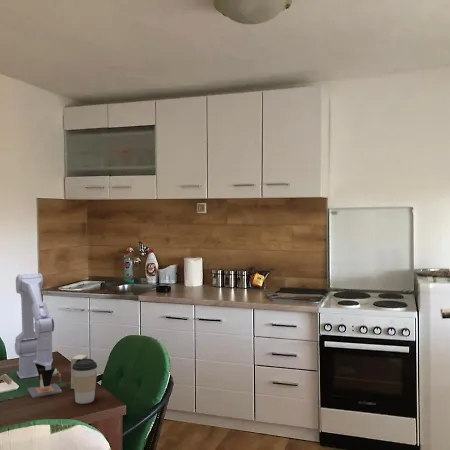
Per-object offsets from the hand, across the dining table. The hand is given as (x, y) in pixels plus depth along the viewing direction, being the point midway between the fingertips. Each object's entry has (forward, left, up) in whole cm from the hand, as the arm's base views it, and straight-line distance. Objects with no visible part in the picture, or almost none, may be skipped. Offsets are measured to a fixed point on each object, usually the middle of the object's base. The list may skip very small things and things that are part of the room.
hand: (44, 383), depth 197 cm
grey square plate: (0, 0, -3) cm, 3 cm away
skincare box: (+2, +13, -3) cm, 14 cm away
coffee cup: (+17, +11, -3) cm, 21 cm away
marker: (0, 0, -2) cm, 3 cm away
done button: (-10, +5, -1) cm, 11 cm away
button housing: (-10, +5, -3) cm, 12 cm away
